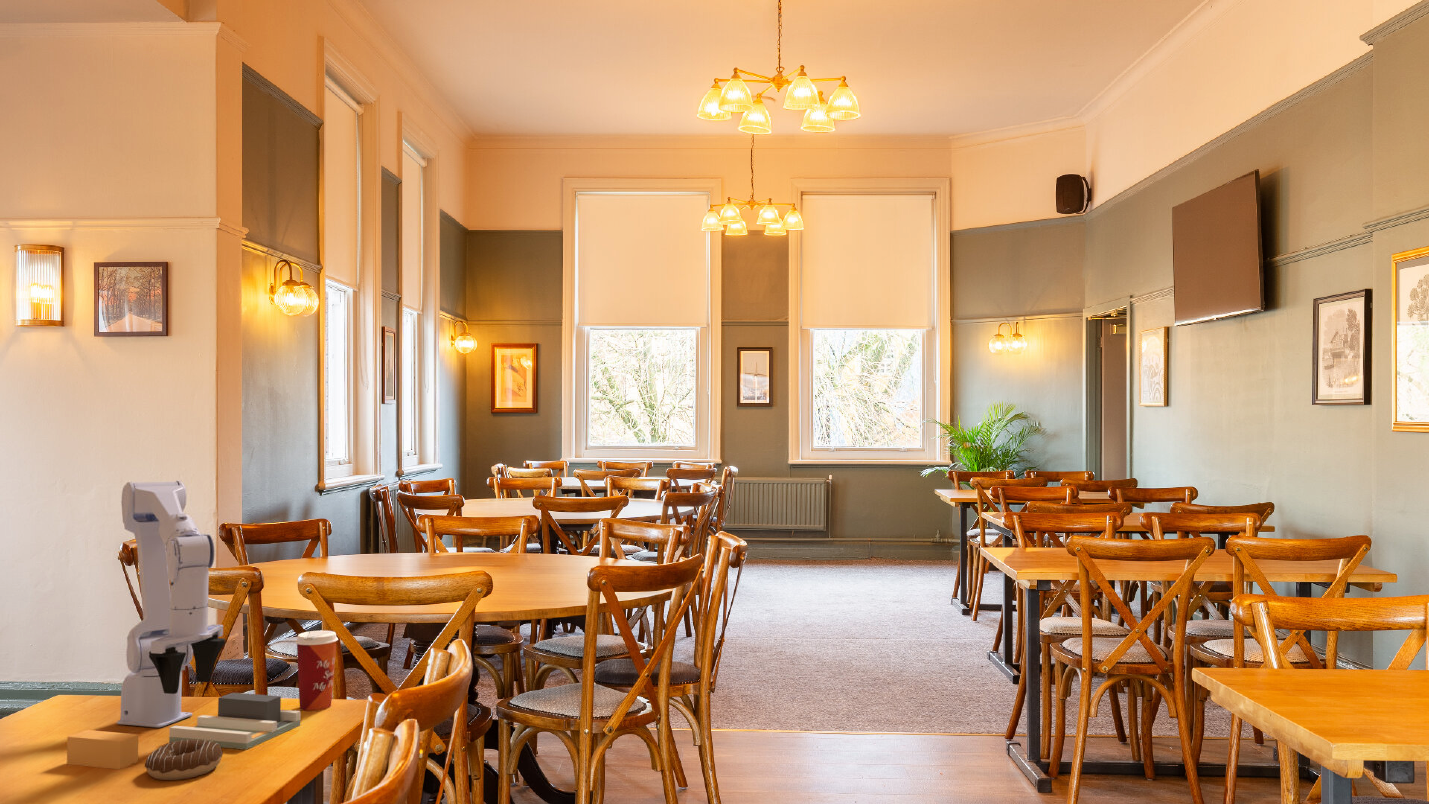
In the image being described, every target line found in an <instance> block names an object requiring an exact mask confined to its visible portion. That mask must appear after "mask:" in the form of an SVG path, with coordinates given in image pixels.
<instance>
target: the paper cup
mask: <svg viewBox="0 0 1429 804" xmlns="http://www.w3.org/2000/svg"><path fill="white" fill-rule="evenodd" d="M337 641H339V638H338V637H337V633H336V631H333V630H326V629H325V630H311V631H305V632H301V633H298V635H297V637H296V640H295V642H294V643H295V644H296V651H297V675H298V678H297V679H298V680H297V681H298V697H299V709H300V710H301V711H305V712H314V711H323V710H326V709H329V708H331V706H332V702H333V701H332V699H333V690H334V689H333V687H334V678H335V677H334V676H335V662H336V652H337V650H336V649H337Z"/></svg>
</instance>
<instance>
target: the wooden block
mask: <svg viewBox="0 0 1429 804" xmlns="http://www.w3.org/2000/svg"><path fill="white" fill-rule="evenodd" d="M66 741H67V742H66V743H67V746H66V756H67V757H66V764H67V765H73V766H84V767H93V768H103V769H104V768H105V769H113V770H115V769H116V770H122V769H124V768H126V767H128V766H130V765H134V764H136V763H139V734H138V733H136V734H135V733H125V732H113V731H105V730H104V731H101V730H91V729H85V730H83V731H82V730H81V731H80V732H76V733H74V734H71V735H68V736H67V739H66ZM133 763H134V764H133ZM123 767H124V768H123Z"/></svg>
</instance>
